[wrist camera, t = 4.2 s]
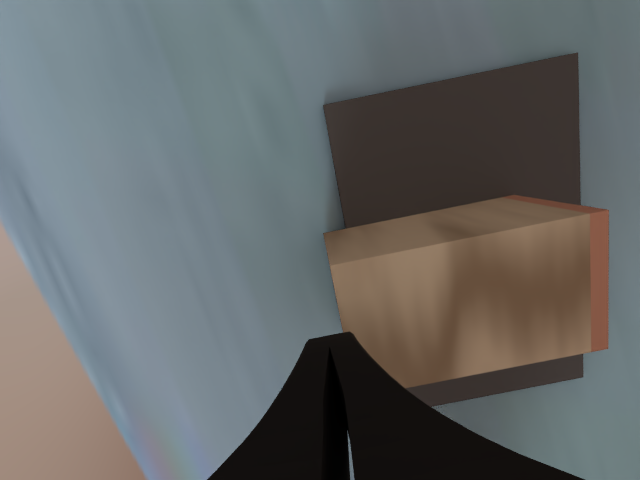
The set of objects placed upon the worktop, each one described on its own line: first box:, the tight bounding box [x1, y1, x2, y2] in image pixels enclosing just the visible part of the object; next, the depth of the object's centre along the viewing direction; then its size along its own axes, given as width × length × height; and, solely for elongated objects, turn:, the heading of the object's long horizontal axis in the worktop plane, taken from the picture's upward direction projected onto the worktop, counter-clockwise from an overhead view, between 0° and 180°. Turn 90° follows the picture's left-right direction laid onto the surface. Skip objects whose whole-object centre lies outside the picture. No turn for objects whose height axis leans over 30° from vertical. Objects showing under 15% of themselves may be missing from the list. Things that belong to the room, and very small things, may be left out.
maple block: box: [323, 195, 609, 388], centre depth 14 cm, size 5×5×9 cm
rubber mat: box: [323, 53, 583, 407], centre depth 16 cm, size 16×11×1 cm
